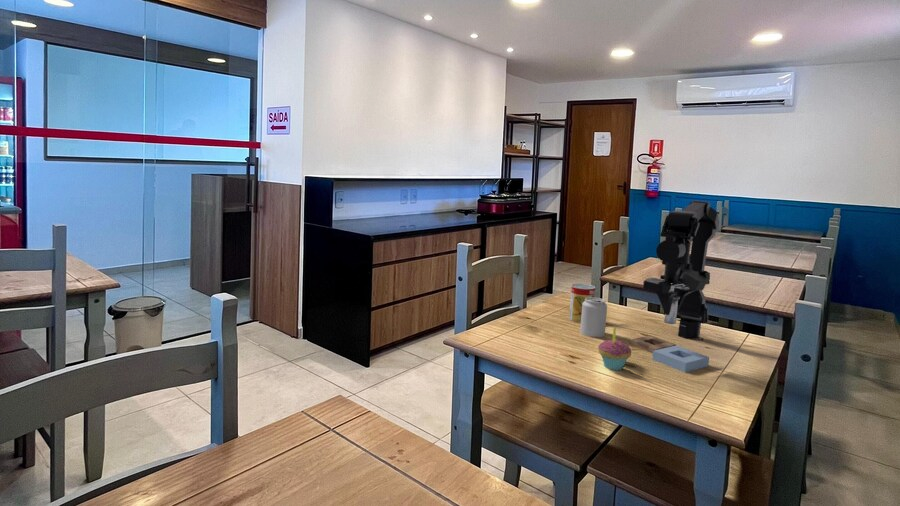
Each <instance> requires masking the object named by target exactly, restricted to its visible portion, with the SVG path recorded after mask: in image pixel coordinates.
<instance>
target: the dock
mask: <svg viewBox="0 0 900 506" xmlns="http://www.w3.org/2000/svg"><path fill="white" fill-rule="evenodd" d="M652 361H655V362H657V363H659V364H662V365H665V366H667V367H670V368H672V369H675V370H677V371H680V372H682V373H688V372H692V371H696V370H699V369H702V368H706V367H709V363H710V356H708V355H704V354H702V353H699V352H697V351H694V350H690V349H689V348H688V349H687V348H686V347H685V348H684V347H681V346H679V345H677V344H676V346H672V347H668V348H663V349H659V350H654V351H653V353H652Z"/></svg>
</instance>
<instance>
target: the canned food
mask: <svg viewBox="0 0 900 506" xmlns="http://www.w3.org/2000/svg"><path fill="white" fill-rule="evenodd" d="M595 294H596V286H595V285H592V284H588V283H573V284H571V290H570V303H569V315H568V319H569V320H570V321H572V322H573V321H574V323H580V324H581V314H582V303H583V302H584V301H585V298H589V297H594V298H595Z"/></svg>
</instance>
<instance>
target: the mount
mask: <svg viewBox="0 0 900 506" xmlns="http://www.w3.org/2000/svg"><path fill="white" fill-rule="evenodd" d="M630 345H631V346H633V347H635V348H638V349H641V350H643V351H646V352H649V353H650V354H651V353H652V354H653V351H654V350H659V349H663V348H668V347H672V346H676V345H677V344H676V343H674V342H671V341H668V340H665V339H662V338H659V337H656V336H653V335H650V334H649V335H645V336H641V337H640V336H639V337H636V338H632V339H631V338H630V339H629V346H630Z"/></svg>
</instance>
